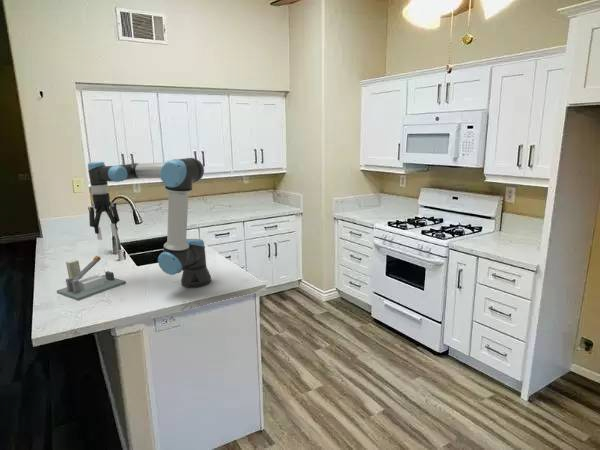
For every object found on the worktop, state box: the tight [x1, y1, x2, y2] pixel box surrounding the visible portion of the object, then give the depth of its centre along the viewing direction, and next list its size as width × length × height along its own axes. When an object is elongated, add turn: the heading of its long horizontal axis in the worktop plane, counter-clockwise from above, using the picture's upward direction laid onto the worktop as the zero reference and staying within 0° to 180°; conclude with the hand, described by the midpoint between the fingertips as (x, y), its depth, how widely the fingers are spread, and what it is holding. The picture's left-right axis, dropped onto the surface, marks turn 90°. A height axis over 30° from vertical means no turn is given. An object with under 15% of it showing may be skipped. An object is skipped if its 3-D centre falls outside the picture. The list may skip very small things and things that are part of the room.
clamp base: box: [56, 270, 127, 301], centre depth 199 cm, size 20×25×8 cm
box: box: [65, 259, 82, 279], centre depth 211 cm, size 5×4×11 cm
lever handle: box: [72, 255, 102, 281], centre depth 197 cm, size 3×16×2 cm
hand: (107, 237), depth 199 cm, fingers open, 7 cm apart
